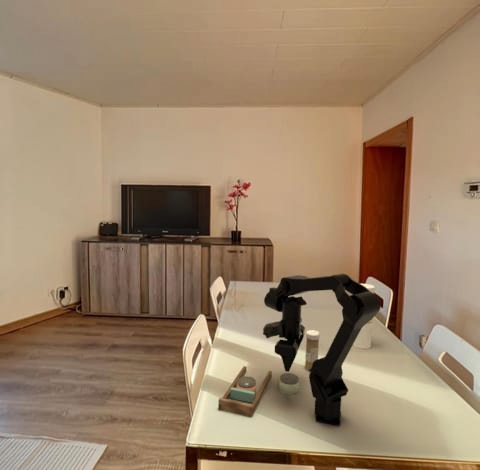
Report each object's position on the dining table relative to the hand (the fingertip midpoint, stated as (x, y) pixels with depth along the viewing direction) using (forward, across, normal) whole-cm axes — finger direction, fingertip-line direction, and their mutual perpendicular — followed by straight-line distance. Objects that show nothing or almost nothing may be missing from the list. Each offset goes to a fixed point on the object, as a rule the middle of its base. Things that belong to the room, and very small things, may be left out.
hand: (289, 364), depth 110 cm
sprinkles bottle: (+8, -16, +5) cm, 19 cm away
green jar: (+8, 0, 0) cm, 9 cm away
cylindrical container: (+8, -43, +22) cm, 49 cm away
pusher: (+8, +10, -12) cm, 18 cm away
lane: (+8, +5, -12) cm, 16 cm away
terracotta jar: (+8, +6, -12) cm, 16 cm away
